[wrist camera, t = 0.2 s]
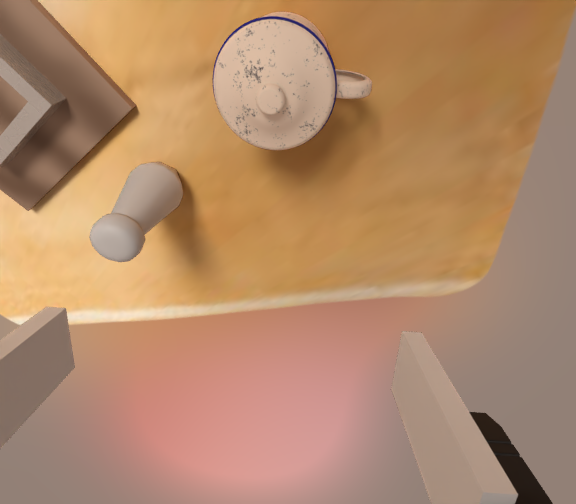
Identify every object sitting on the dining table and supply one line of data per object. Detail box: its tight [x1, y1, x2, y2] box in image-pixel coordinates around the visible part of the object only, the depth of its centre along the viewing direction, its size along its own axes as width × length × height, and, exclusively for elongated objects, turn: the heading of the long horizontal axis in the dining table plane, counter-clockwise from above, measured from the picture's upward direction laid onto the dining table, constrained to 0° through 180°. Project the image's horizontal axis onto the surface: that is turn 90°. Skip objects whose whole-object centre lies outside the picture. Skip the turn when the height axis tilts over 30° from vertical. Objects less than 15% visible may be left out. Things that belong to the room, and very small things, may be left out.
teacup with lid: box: [213, 12, 372, 150], centre depth 29 cm, size 12×9×12 cm
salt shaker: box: [90, 162, 183, 262], centre depth 36 cm, size 6×6×13 cm
